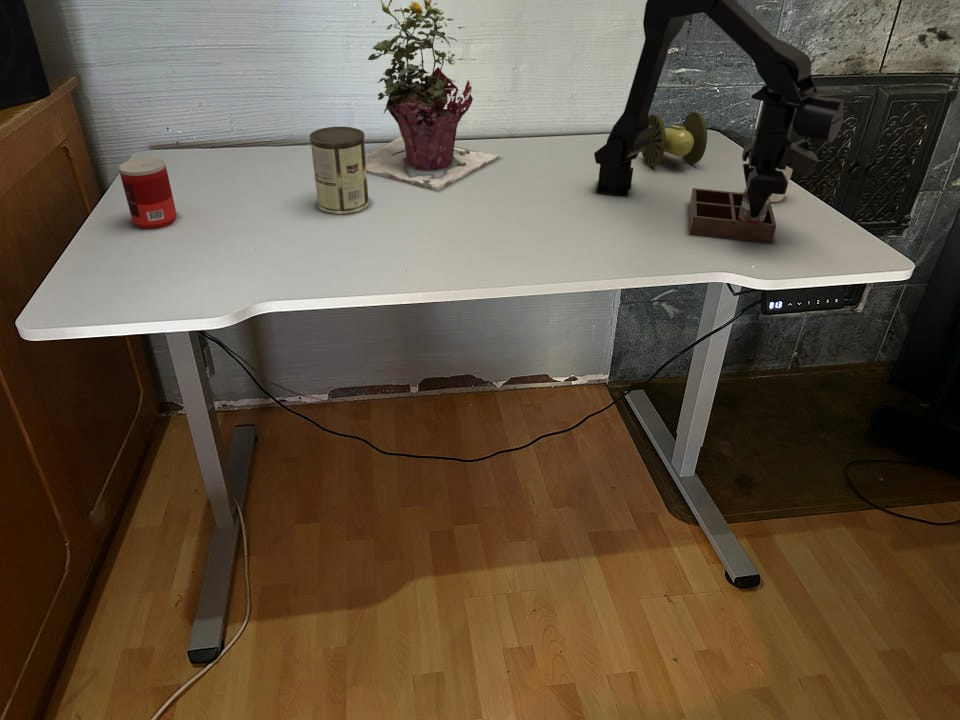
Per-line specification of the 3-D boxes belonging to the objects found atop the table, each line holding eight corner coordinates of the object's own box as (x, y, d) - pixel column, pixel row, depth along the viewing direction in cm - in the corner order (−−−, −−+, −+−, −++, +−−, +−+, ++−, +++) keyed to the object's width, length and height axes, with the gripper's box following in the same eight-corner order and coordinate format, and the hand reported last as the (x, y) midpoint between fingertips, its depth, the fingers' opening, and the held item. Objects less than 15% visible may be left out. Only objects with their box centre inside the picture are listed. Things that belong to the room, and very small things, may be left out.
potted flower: (498, 158, 173) (504, -8, 154) (437, 190, 156) (435, 9, 136) (407, 136, 185) (401, -21, 165) (341, 164, 168) (325, -7, 148)
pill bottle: (734, 214, 143) (744, 172, 138) (758, 214, 143) (769, 172, 138) (743, 224, 139) (754, 181, 134) (768, 224, 139) (779, 181, 134)
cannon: (615, 139, 186) (621, 93, 180) (659, 137, 189) (666, 91, 182) (657, 175, 166) (665, 124, 160) (706, 172, 169) (716, 121, 162)
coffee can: (336, 191, 155) (329, 123, 147) (378, 200, 152) (374, 131, 144) (306, 208, 147) (298, 137, 139) (350, 218, 144) (344, 146, 136)
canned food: (186, 215, 143) (173, 160, 137) (158, 232, 137) (144, 174, 131) (152, 209, 145) (139, 154, 139) (124, 225, 139) (108, 168, 133)
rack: (689, 234, 141) (693, 216, 139) (689, 204, 153) (692, 187, 151) (771, 243, 138) (776, 225, 136) (764, 212, 150) (769, 195, 148)
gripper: (830, 150, 122) (804, 237, 131) (814, 117, 137) (792, 197, 146) (759, 143, 124) (738, 230, 133) (751, 112, 139) (733, 191, 148)
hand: (753, 211), depth 140 cm, fingers closed on pill bottle, 5 cm apart
